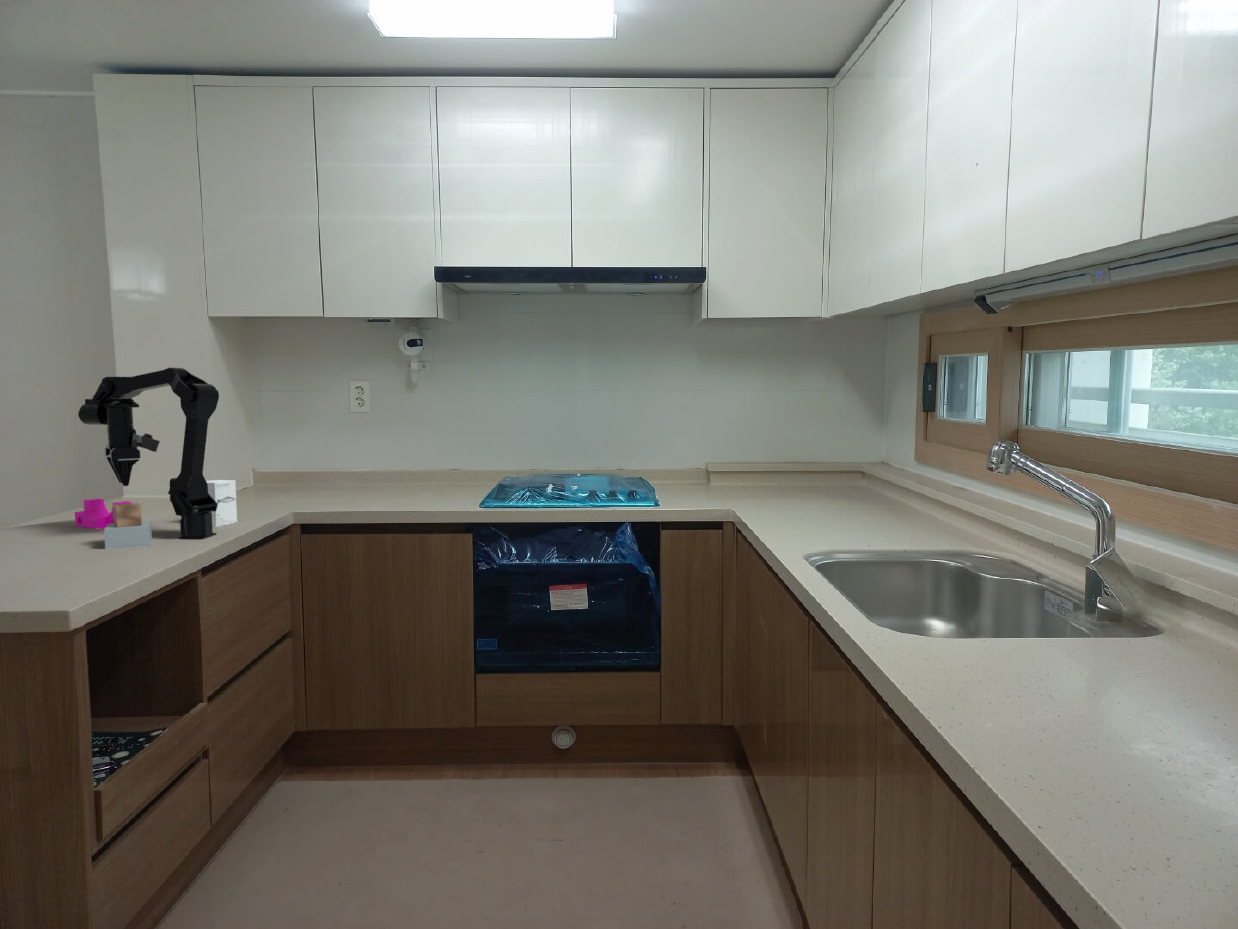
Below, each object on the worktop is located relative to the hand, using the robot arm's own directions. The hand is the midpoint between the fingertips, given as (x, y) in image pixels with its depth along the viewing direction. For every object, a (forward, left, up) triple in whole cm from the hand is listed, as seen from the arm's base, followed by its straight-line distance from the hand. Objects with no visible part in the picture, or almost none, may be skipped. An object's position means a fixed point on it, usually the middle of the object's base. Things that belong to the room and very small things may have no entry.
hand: (123, 484), depth 199 cm
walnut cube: (-11, +14, -8) cm, 20 cm away
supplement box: (-17, -13, -13) cm, 25 cm away
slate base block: (-11, +14, -13) cm, 22 cm away
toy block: (+12, -8, -13) cm, 20 cm away
